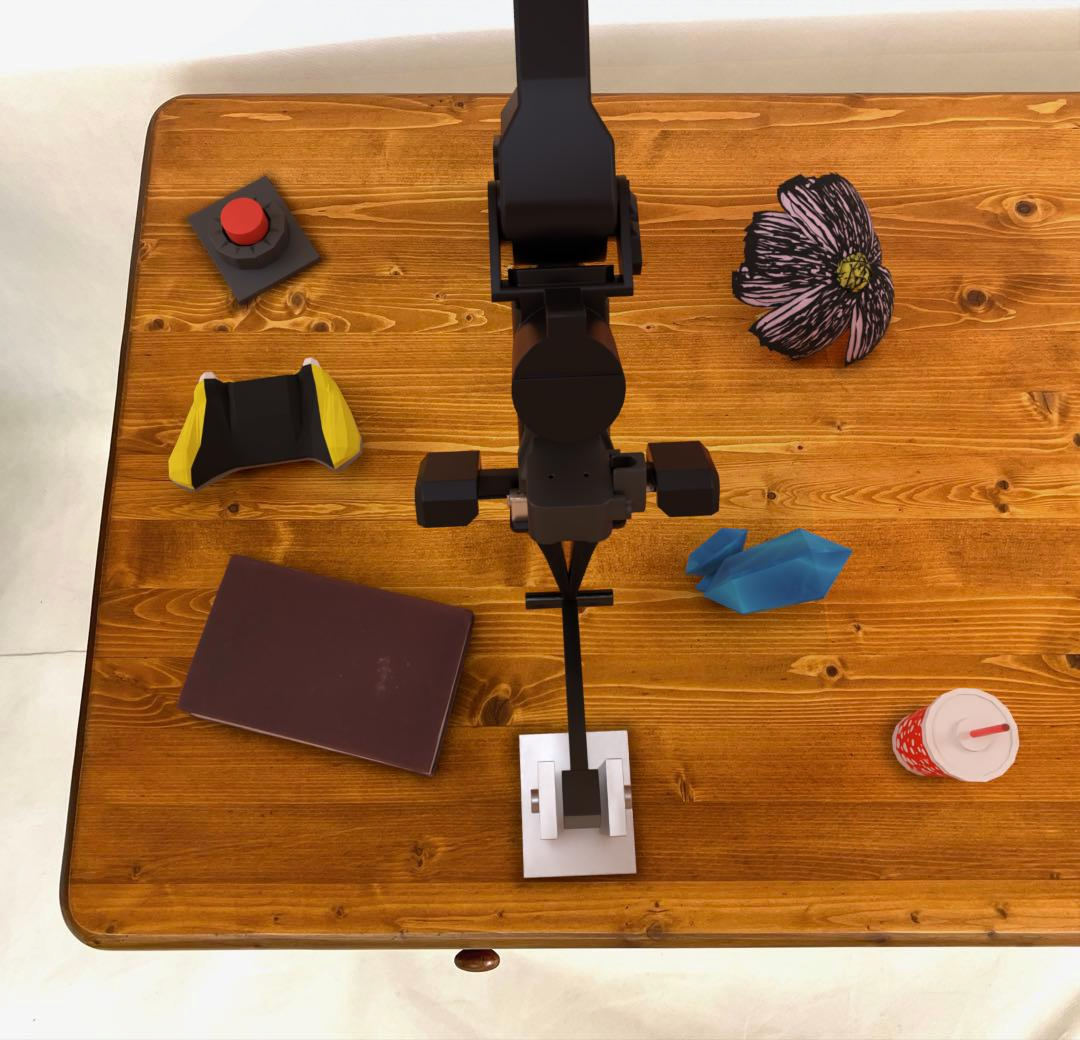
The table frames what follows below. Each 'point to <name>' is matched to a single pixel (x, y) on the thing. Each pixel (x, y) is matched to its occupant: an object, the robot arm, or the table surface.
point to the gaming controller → (264, 426)
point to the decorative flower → (816, 271)
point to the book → (329, 664)
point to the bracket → (543, 808)
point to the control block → (256, 244)
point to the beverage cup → (958, 737)
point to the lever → (575, 707)
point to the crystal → (766, 569)
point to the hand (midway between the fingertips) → (569, 596)
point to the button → (244, 221)
